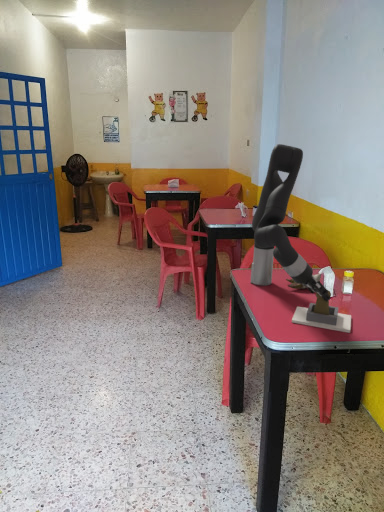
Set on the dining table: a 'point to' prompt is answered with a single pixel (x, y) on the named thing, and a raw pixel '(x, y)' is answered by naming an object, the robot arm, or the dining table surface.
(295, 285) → the ceramic sculpture
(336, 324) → the board
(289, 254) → the robot arm
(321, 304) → the cork
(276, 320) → the dining table surface
